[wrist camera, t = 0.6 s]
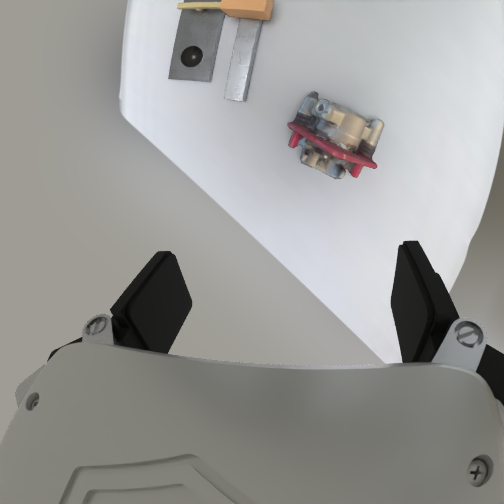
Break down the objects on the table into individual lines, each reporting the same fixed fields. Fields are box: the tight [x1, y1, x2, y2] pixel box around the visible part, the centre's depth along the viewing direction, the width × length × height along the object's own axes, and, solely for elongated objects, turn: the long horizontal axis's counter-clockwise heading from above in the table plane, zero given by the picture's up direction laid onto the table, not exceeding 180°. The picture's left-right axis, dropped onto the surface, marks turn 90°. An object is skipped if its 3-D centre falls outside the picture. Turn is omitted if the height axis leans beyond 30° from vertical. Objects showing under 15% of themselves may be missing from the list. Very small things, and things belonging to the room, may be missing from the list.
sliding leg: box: [177, 0, 274, 21], centre depth 22 cm, size 3×12×5 cm, turn 79°
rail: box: [224, 18, 263, 101], centre depth 25 cm, size 24×2×2 cm, turn 169°
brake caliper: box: [287, 91, 384, 179], centre depth 29 cm, size 11×11×12 cm
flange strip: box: [168, 0, 225, 82], centre depth 24 cm, size 23×6×1 cm, turn 169°
